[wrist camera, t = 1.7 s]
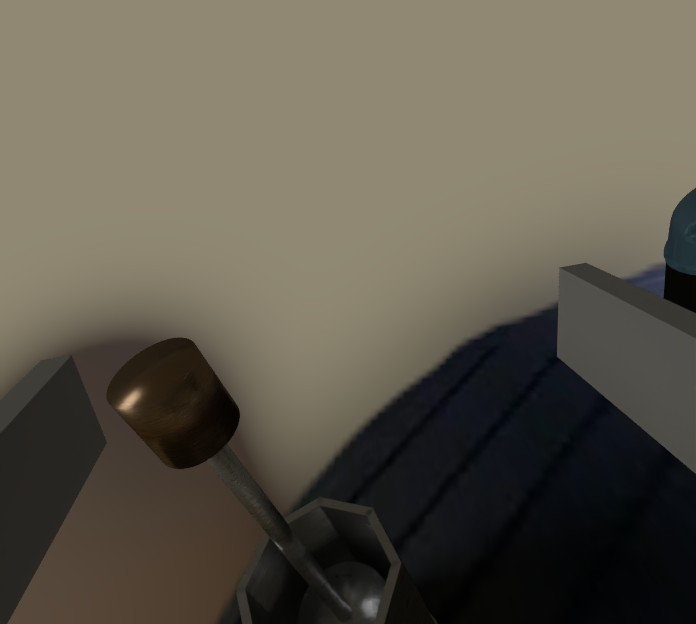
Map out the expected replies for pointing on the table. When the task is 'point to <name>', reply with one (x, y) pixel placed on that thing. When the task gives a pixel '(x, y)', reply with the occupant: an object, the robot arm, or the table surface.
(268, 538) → the press pot
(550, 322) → the table surface
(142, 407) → the plunger
